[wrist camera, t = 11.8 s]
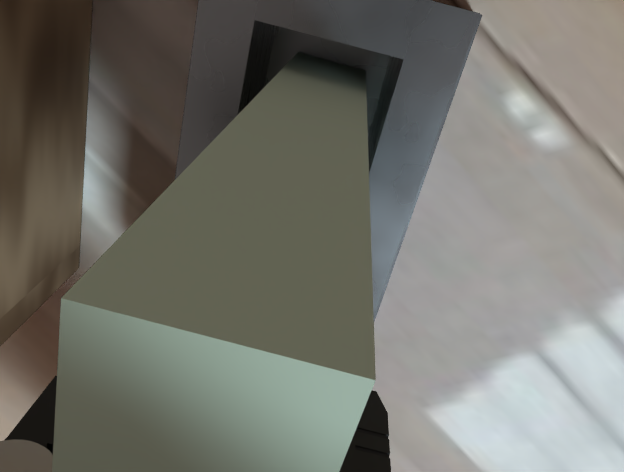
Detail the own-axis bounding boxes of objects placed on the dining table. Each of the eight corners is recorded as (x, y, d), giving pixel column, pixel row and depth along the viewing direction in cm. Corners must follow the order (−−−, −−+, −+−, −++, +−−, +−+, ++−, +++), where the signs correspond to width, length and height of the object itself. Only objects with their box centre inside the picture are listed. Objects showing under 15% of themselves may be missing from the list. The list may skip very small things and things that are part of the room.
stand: (224, -55, 18) (166, -71, 13) (473, 12, 19) (518, 23, 13) (172, 300, 25) (120, 387, 20) (358, 346, 25) (357, 445, 20)
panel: (298, 51, 18) (61, 298, 4) (365, 70, 18) (374, 378, 4) (243, 291, 23) (33, 828, 8) (297, 305, 23) (184, 861, 8)
